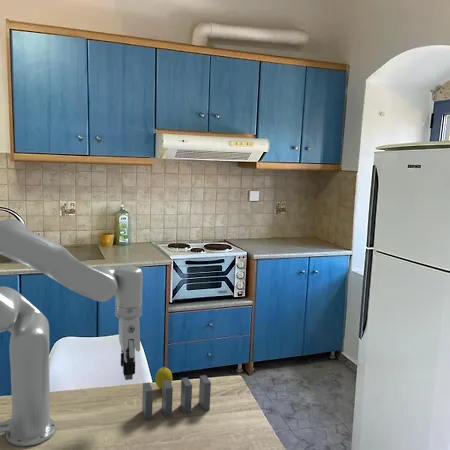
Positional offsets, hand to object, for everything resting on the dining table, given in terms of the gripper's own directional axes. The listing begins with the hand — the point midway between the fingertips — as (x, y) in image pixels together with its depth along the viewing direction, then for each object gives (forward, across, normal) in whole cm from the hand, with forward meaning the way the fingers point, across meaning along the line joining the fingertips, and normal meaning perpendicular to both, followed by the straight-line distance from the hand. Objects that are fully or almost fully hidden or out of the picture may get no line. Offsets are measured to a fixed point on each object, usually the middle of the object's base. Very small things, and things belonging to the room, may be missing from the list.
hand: (127, 369), depth 132 cm
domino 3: (+15, 0, -12) cm, 19 cm away
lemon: (+16, +13, -14) cm, 25 cm away
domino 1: (+2, 0, 0) cm, 2 cm away
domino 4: (+15, 0, -18) cm, 24 cm away
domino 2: (+15, 0, -6) cm, 16 cm away
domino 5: (+15, 0, -24) cm, 28 cm away
